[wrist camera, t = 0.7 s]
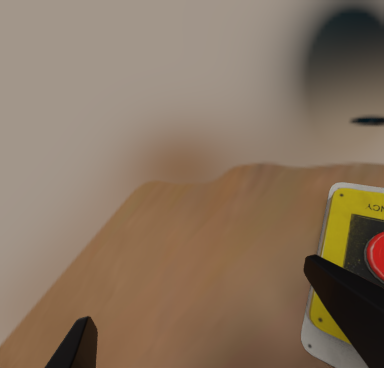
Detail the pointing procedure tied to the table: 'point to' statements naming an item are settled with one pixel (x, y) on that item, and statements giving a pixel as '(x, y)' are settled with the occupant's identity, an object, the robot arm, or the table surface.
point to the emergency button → (346, 265)
